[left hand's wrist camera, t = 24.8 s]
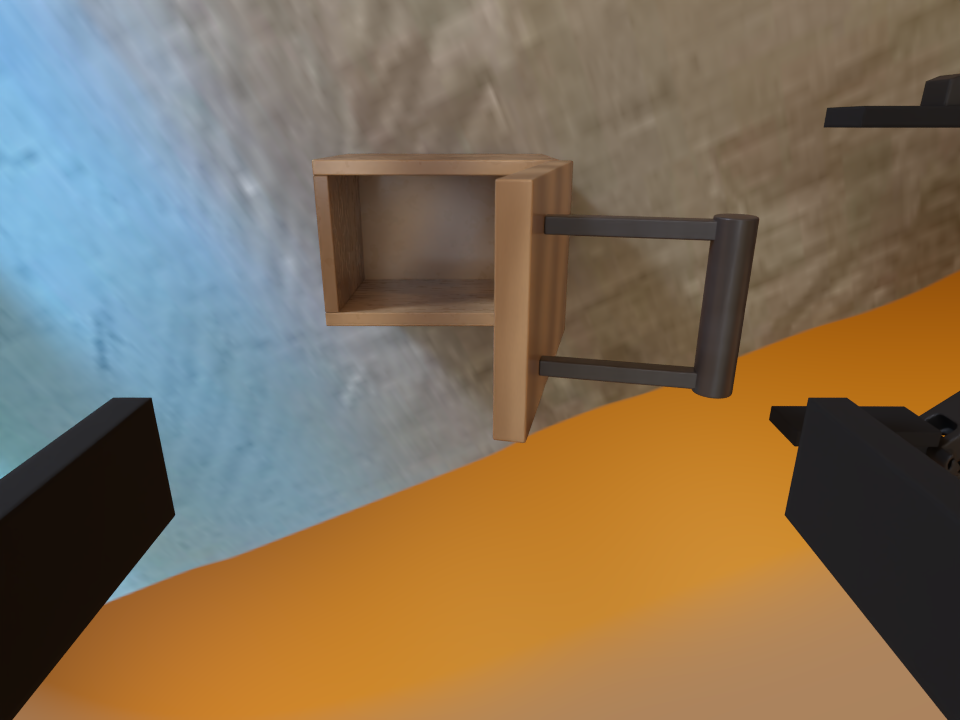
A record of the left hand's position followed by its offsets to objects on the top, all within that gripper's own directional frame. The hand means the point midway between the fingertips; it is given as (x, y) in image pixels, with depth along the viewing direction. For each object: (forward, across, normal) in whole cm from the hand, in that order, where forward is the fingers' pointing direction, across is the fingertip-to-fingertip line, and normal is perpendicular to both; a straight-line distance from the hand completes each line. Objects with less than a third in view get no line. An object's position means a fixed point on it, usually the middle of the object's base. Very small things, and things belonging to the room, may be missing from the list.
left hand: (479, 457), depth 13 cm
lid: (+17, -2, 0) cm, 17 cm away
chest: (+34, +2, 0) cm, 34 cm away
